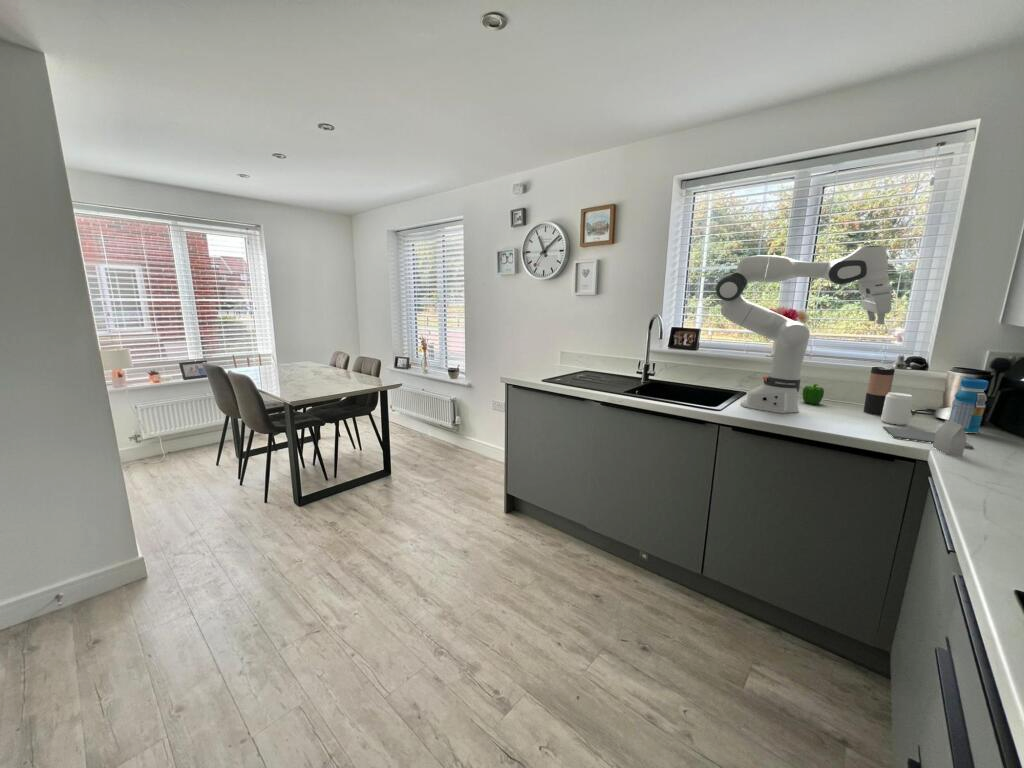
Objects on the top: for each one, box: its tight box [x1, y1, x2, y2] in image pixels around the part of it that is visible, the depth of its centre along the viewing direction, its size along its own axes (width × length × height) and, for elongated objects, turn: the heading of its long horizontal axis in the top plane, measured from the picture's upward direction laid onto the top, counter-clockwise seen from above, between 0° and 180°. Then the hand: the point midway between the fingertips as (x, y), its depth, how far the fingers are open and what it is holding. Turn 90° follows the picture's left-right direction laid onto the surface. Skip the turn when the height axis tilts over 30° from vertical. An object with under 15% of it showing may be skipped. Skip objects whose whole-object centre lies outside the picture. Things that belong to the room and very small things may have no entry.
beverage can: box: [880, 391, 914, 426], centre depth 163 cm, size 8×8×12 cm
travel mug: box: [863, 366, 896, 416], centre depth 178 cm, size 8×8×20 cm
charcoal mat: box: [882, 426, 974, 450], centre depth 146 cm, size 20×14×1 cm
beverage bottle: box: [948, 377, 989, 434], centre depth 154 cm, size 8×8×20 cm
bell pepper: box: [802, 382, 825, 405], centre depth 194 cm, size 8×8×10 cm
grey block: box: [932, 419, 967, 458], centre depth 131 cm, size 4×7×10 cm, turn 165°
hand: (876, 322), depth 160 cm, fingers open, 8 cm apart
